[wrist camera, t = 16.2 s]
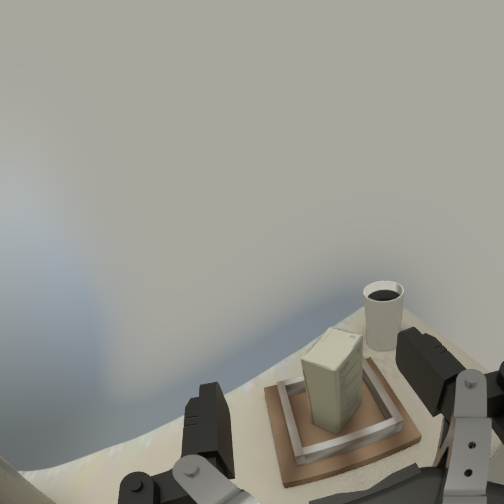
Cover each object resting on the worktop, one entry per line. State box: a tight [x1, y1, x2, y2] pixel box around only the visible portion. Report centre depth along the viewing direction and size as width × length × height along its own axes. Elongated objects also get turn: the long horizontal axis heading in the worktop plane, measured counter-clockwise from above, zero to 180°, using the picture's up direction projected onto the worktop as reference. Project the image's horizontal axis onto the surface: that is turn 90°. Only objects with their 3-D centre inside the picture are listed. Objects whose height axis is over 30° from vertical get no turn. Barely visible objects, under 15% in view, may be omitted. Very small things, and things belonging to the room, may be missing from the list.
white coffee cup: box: [364, 281, 404, 351], centre depth 45 cm, size 7×7×10 cm
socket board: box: [264, 357, 422, 488], centre depth 34 cm, size 17×17×4 cm
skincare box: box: [301, 327, 363, 434], centre depth 32 cm, size 6×4×12 cm
